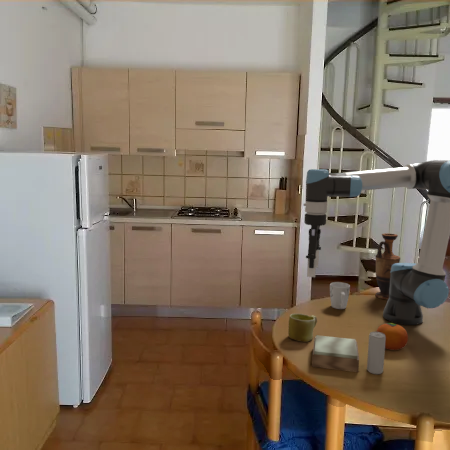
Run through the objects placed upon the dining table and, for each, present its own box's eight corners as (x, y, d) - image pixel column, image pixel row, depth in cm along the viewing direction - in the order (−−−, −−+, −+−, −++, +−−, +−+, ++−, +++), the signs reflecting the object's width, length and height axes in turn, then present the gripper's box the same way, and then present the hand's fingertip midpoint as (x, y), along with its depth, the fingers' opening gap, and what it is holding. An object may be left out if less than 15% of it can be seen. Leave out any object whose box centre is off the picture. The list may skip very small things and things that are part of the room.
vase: (393, 293, 218) (398, 232, 213) (400, 301, 207) (405, 236, 202) (370, 292, 219) (374, 231, 214) (375, 300, 208) (380, 236, 203)
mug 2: (352, 312, 191) (354, 289, 189) (332, 312, 191) (334, 289, 189) (345, 303, 202) (347, 282, 200) (327, 303, 202) (328, 281, 201)
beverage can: (364, 367, 142) (366, 331, 140) (379, 367, 142) (381, 331, 140) (370, 375, 137) (373, 337, 135) (385, 374, 137) (388, 337, 135)
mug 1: (298, 342, 155) (298, 312, 158) (281, 340, 164) (282, 312, 167) (326, 343, 161) (326, 314, 163) (309, 341, 170) (309, 314, 172)
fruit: (407, 356, 150) (409, 333, 149) (374, 351, 154) (376, 328, 153) (406, 343, 160) (408, 322, 159) (375, 339, 164) (377, 318, 162)
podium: (356, 352, 152) (357, 338, 151) (358, 372, 139) (359, 356, 138) (314, 348, 155) (314, 334, 154) (312, 366, 142) (312, 351, 141)
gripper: (308, 208, 172) (305, 263, 175) (300, 217, 148) (298, 279, 152) (328, 209, 170) (325, 264, 173) (324, 218, 146) (321, 281, 150)
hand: (312, 271), depth 162 cm, fingers open, 13 cm apart
